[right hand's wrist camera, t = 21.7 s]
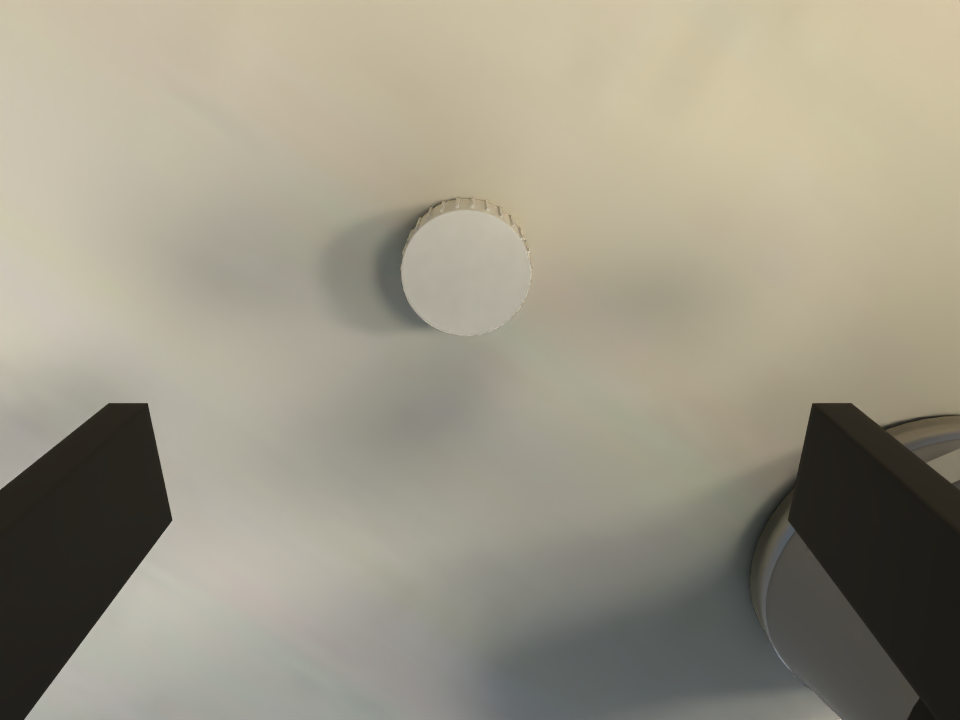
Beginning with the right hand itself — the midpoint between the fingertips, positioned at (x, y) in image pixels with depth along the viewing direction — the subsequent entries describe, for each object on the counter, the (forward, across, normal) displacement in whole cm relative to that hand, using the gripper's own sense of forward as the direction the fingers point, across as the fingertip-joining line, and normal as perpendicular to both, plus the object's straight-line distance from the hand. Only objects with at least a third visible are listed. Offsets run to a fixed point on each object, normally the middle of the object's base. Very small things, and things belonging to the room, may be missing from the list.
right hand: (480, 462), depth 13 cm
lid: (+11, 0, -1) cm, 11 cm away
